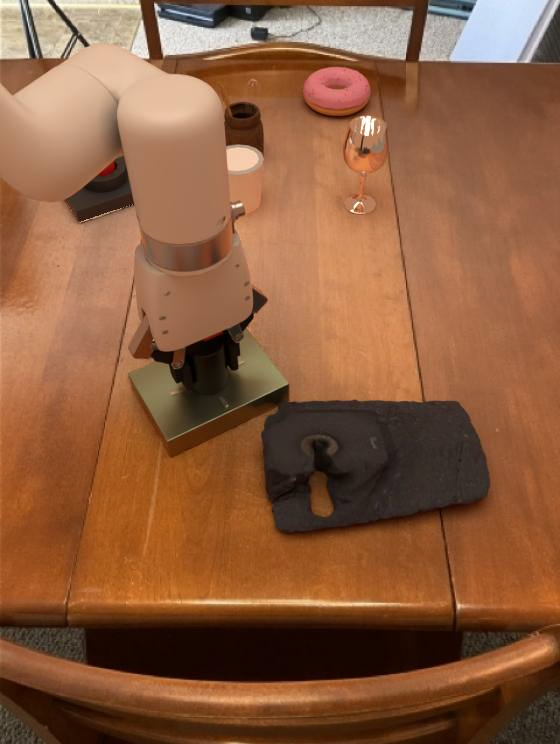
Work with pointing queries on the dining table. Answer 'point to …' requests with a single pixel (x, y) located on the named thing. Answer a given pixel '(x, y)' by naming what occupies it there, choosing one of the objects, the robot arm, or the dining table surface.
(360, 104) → the doughnut
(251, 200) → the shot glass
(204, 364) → the dial
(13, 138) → the robot arm
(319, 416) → the dark grey slotted slab
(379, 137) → the wineglass
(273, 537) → the dining table surface
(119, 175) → the button box
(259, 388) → the control panel
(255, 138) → the utensil holder
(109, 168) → the button
